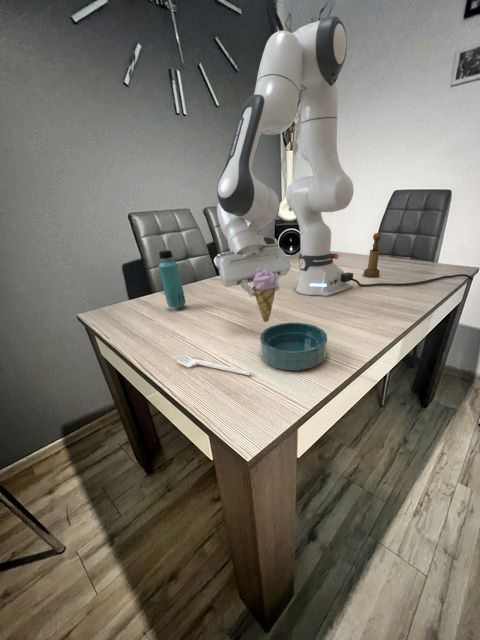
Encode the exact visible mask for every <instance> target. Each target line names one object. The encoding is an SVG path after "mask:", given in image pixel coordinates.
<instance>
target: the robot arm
mask: <svg viewBox="0 0 480 640" xmlns="http://www.w3.org/2000/svg"><path fill="white" fill-rule="evenodd" d="M347 49H348V39H347V32H346V27H345V25H344V23H343V21H342V20H341V18H340V17H339V16H334V15H331V16H325V17H323V18H321V19H320V20H317V21H314V22H310V23H307V24H306V25H303V26H301V27H299V28H297V30H295V31H293V32H291V31H289V30H278V31H276V32H274V33H273V34H271V36H269V38H268V40H267V41H266V43H265V47H264V50H263V52H262V55H261V56H262V57H261V59H260V63H259V67H258V70H257V77H256V82H255V87H254V93H253V94H252V95H250V96H249V97H248V98H246V100H245V102H244V103H243V105H242V107H241V109H240V113H239V116H238V119H237V122H236V125H235V129H234V133H233V135H232V136H233V137H232V140H231V144H230V147H229V151H228V154H227V159H226V161H225V165H224V168H223V170H222V172H221V174H220V176H219V179H218V181H217V186H216V195H217V200H218V203H217V206H216V216H217V220H218V223H219V224H218V225H219V226H220V229H221V232H222V234H223V236H224V238H225V239H226V240H227V245H228V248H229V251H230V252H225V253H217V255H216V256H214V258H213V262H214V265H215V267H216V269H218V273H219V277H220V281H221V284H222V286H224V287H226V288H229V287H235V286H239V285H240V287H241V289H243V290H244V291H246V292H247V294H248V296H249V297H250V298H251V297H256V296H255V295H256V291H255V288H253V287H251V286H250V284H249V283H253V279H254V278H255V275H256V273H255V272H256V270H257V269H259V268H260V269H261V270H267V271H268V272H270V271H271V272H272V273H273V274H274V275H275V282H276V288H275V292H278V291H279V290H280V288H281V287H280V285H279V279H280V277H283V276H286V275H287V274H288V273H289V271H290V269H291V263H290V260H289V259H288V256H287V254H286V253H285V251H284V249H282V247H280V246H278V245H279V241H278V239H277V238H276V237H271V236H266V235H262V234H258V233H259V232H261V231H262V230H264V229H265V228H267V227H268V226H269V225H270V224H272V223H273V222H274V221H275V220H276V218H277V217H278V215H279V212H280V207H281V205H280V204H281V203H280V197H279V195H278V194H277V192H275V190H274V189H272V188H271V187H269V186H268V185H267V184H265V183H263V182H262V181H260V180H259V179H258V178H257V177H255V175H254V172H253V170H252V165H253V160H254V157H255V153H256V150H257V146H258V143H259V140H260V136H261V135H265V136H275V135H279V134H282V133H284V132H285V131H287V130H288V129H289V128H290V127H291V125H292V124H293V122H294V120H295V118H296V114H297V110H298V105H299V101H300V100H299V99H300V93H301V92H302V93H301V95H302V96H301V103H300V154H301V157H302V158H303V159H304V160H305V161H306V162H308V164H309V165H310V168H311V171H312V175H311V176H302V177H300V178H298V179H295V180H293V181H291V182H290V183H289V184H288V186H287V188H286V193H285V199H286V203H287V206H288V207H289V209H291V211H292V212H293V214H294V216H295V218H296V220H297V224H298V228H299V235H300V236H299V239H300V240H299V241H300V243H299V245H300V253H299V254H298V267H299V271H298V278H297V282H296V283H297V284H296V287H295V292H297V293H299V294H302V295H306V296H307V295H308V296H324V297H325V296H326V297H329V296H332V295H334V294H337V293H340V292H343V291H346V290H348V289H351V288H352V285H351V284H350V283H349V282H351V281H352V282H355V283H356V284H357V286H359V287H362V288H363V287H365V288H366V287H378V286H380V287H381V286H382V287H383V286H386V287H387V286H391V287H398V286H399V287H400V286H401V287H403V286H415V285H421V284H426V283H430V282H434V281H439V280H442V279H450V278H458V277H465V278H468V279H469V280H473V277H472V276H471V275H469V274H466V273H458V274H453V275H443V276H439V277H434V278H430V279H426V280H421V281H415V282H404V283H392V282H391V283H390V282H387V283H385V282H381V283H380V282H379V283H378V282H377V283H368V284H367V283H366V284H363V283H360V281H359V280H358V279H356V278H354V272H348V271H347V272H345V271H344V270H343V269H342V268H340V266H338V265H337V264H336V263H335V262H334V260H338V259H339V258H340V257H339V253H336V252H333V253H332V252H331V246H332V245H331V244H332V230H331V228H330V226H329V225H327V224H326V222H325V221H324V219H323V215H322V213H334V212H338V211H341V210H342V211H343V210H345V209H346V208H348V207H349V205H350V203H351V202H352V200H353V196H354V190H355V189H354V183H353V180H352V179H351V177H350V176H348V174H347V173H346V172H345V170H344V169H343V167H342V164H341V162H340V159H339V154H338V90H337V81H338V78H339V74H340V73H341V71H342V69H343V67H344V64H345V60H346V57H347V52H348V51H347Z"/></svg>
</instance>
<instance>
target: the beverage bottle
mask: <svg viewBox="0 0 480 640" xmlns="http://www.w3.org/2000/svg"><path fill="white" fill-rule="evenodd" d="M158 255H159V259H161V260H163V261H161V262H160V263H159V264H158V269H159V274H160V277H161V283H162V286H163V287H162V288H163V291H164V297H165V299H166V300H165V301H166V304H167V306H168V307H169V308H180V307H183V306H185V305H186V298H185V292H184V288H183V284H182V278H181V273H180V270H179V264H178V262H176V261H175V260H172V258H173V257H174V256H173V252H172V250H170V249H169V250H167V249H166V250H160V251H159V252H158ZM165 259H171V260H165Z"/></svg>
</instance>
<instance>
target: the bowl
mask: <svg viewBox="0 0 480 640" xmlns="http://www.w3.org/2000/svg"><path fill="white" fill-rule="evenodd" d="M259 342H260V343H259V347H260V356H261V358H262V360H263V361H264V362H265V363H266V364H267V365H269V366H271V367H273V368H275V369H280V370H283V371H284V370H285V371H301V370H302V371H303V370H309V369H311V368H315V367H317V366H319V365H321V363H323V362H324V361H325V359H326V358H327V349H328V334H327V333H326V331H324V330H323V329H322V328H321V327H319V326H316V325H314V324H310V323H305V322H282V323H277V324H274V325H271V326H269V327H267V328H265V329H264V330H263V331H262V332H261V333H260V337H259Z"/></svg>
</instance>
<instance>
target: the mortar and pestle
mask: <svg viewBox="0 0 480 640" xmlns="http://www.w3.org/2000/svg"><path fill="white" fill-rule="evenodd" d="M381 237H382V235H381V233H380V232H375V233H374V234H373V235H372V238H373V241H374V242H373V244H372V249H370V250H369V257H368V263H367V268H366V269H364V270H363V277H364V278H369V279H374V278H375V279H376V278H379V277H380V272H381V271H380V270H379V268H378V264H379V258H380V251H381V250H380V249H378V247H379V241H380V239H381Z"/></svg>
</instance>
